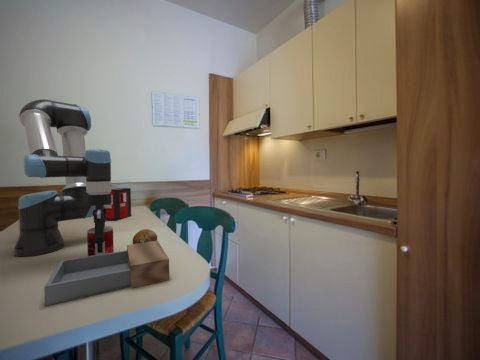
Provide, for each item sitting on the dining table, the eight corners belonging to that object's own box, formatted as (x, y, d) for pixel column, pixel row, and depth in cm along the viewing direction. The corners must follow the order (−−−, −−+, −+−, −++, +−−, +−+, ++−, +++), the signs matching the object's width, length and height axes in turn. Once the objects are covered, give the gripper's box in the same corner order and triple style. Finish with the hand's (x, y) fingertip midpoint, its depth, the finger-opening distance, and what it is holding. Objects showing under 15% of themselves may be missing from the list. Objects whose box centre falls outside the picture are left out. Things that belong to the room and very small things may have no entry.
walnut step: (130, 288, 61) (130, 265, 60) (127, 262, 78) (126, 245, 78) (169, 279, 66) (169, 258, 65) (157, 256, 83) (157, 240, 83)
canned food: (118, 255, 85) (117, 226, 85) (103, 264, 77) (102, 231, 77) (99, 254, 86) (98, 225, 85) (82, 263, 78) (81, 231, 77)
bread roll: (159, 250, 101) (164, 232, 104) (144, 247, 92) (149, 227, 95) (141, 248, 104) (146, 230, 107) (125, 244, 95) (131, 225, 98)
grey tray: (44, 305, 53) (44, 286, 53) (60, 275, 69) (60, 260, 68) (130, 286, 62) (130, 270, 61) (127, 263, 77) (127, 250, 77)
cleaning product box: (115, 221, 146) (114, 190, 145) (102, 220, 147) (101, 190, 146) (131, 216, 162) (130, 188, 161) (119, 216, 163) (118, 188, 162)
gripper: (111, 195, 73) (113, 265, 74) (111, 191, 91) (113, 247, 92) (82, 196, 70) (85, 270, 70) (89, 191, 88) (91, 250, 89)
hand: (101, 257), depth 81 cm, fingers closed on canned food, 8 cm apart
